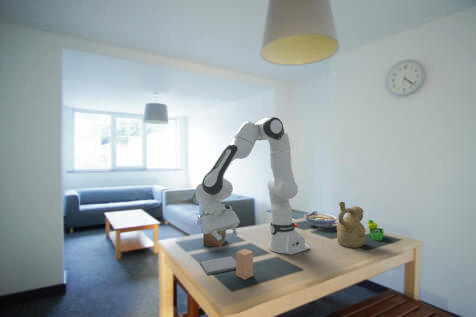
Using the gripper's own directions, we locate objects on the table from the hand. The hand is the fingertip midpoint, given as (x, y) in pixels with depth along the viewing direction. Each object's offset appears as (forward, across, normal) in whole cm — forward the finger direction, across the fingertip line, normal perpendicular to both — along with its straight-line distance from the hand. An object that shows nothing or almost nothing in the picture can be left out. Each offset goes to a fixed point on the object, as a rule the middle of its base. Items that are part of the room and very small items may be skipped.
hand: (228, 237), depth 112 cm
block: (+17, 0, +2) cm, 17 cm away
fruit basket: (+32, +94, -13) cm, 101 cm away
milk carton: (-12, +17, +31) cm, 37 cm away
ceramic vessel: (+28, +71, -8) cm, 77 cm away
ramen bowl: (+6, +94, +13) cm, 95 cm away
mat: (+7, -1, +12) cm, 14 cm away
